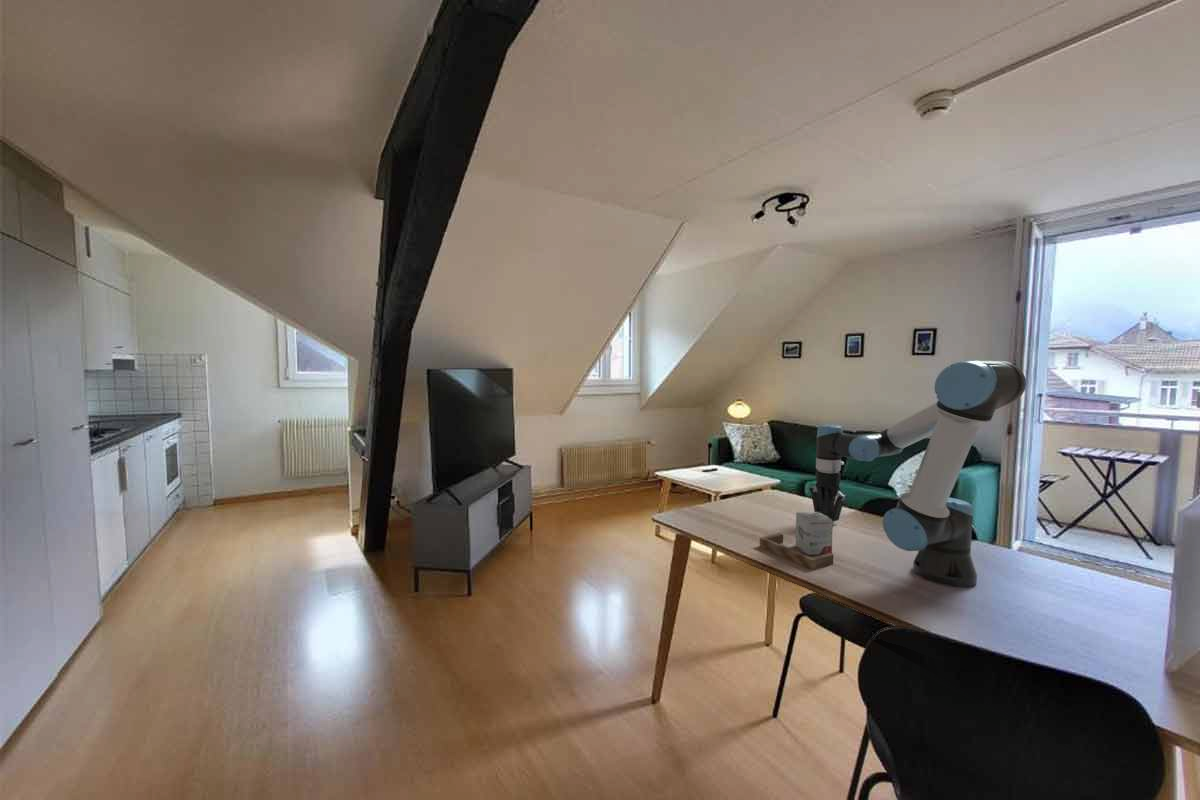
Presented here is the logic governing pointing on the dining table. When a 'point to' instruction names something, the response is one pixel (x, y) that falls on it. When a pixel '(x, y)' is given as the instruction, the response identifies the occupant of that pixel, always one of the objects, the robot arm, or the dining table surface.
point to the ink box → (814, 533)
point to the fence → (794, 553)
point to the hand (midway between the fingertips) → (825, 538)
